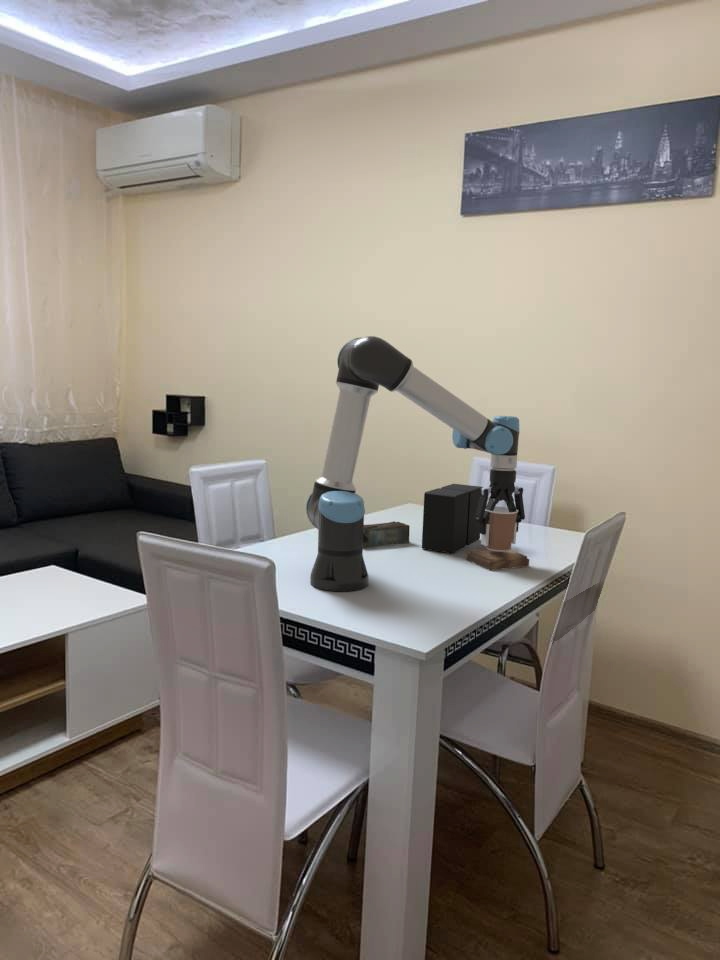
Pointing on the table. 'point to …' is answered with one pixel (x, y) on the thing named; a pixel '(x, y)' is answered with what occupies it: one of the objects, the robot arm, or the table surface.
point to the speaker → (450, 518)
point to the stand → (497, 559)
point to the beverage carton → (385, 534)
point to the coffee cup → (501, 528)
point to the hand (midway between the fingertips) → (498, 543)
